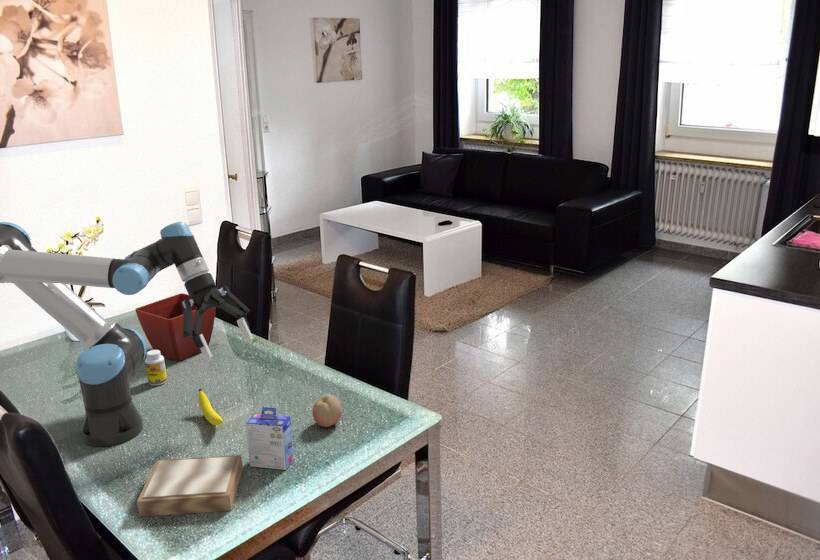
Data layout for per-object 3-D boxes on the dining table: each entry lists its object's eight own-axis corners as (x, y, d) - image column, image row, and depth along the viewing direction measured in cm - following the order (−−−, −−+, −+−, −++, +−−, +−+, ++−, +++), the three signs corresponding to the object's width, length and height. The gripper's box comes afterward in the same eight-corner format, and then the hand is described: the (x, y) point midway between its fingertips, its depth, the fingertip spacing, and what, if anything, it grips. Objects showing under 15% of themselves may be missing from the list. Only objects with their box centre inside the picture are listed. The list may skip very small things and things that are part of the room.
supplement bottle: (144, 384, 214) (139, 354, 211) (156, 377, 219) (152, 347, 216) (159, 387, 212) (154, 356, 209) (171, 379, 217) (166, 349, 214)
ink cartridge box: (295, 458, 173) (290, 406, 169) (287, 471, 168) (282, 418, 163) (258, 454, 175) (252, 403, 170) (249, 467, 170) (243, 415, 165)
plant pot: (188, 336, 250) (181, 292, 245) (223, 347, 239) (217, 301, 234) (141, 355, 236) (133, 308, 230) (176, 368, 225) (169, 320, 219)
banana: (218, 438, 183) (215, 417, 181) (197, 409, 198) (194, 389, 196) (228, 435, 184) (226, 414, 182) (207, 406, 200) (204, 387, 198)
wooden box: (139, 516, 153) (136, 500, 152) (159, 474, 168) (156, 459, 167) (231, 510, 154) (229, 494, 153) (242, 469, 169) (240, 453, 168)
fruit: (310, 420, 190) (307, 394, 188) (337, 414, 193) (336, 388, 191) (318, 434, 183) (315, 407, 181) (347, 427, 186) (345, 401, 184)
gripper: (161, 286, 174) (197, 362, 174) (240, 260, 193) (272, 329, 193) (149, 295, 180) (184, 369, 179) (227, 269, 198) (258, 337, 198)
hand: (230, 349), depth 186 cm, fingers open, 13 cm apart
